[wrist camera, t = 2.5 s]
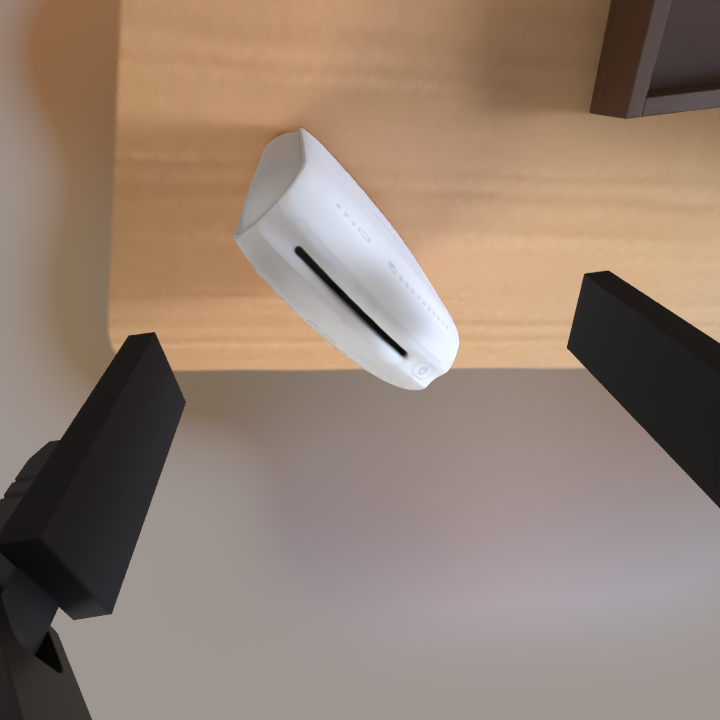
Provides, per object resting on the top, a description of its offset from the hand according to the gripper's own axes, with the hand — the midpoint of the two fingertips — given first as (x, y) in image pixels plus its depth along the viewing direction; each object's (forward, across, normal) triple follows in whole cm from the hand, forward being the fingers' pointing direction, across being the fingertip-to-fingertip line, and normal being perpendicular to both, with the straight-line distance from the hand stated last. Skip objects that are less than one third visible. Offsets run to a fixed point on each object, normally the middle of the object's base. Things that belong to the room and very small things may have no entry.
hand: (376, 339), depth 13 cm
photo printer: (+14, 0, 0) cm, 14 cm away
